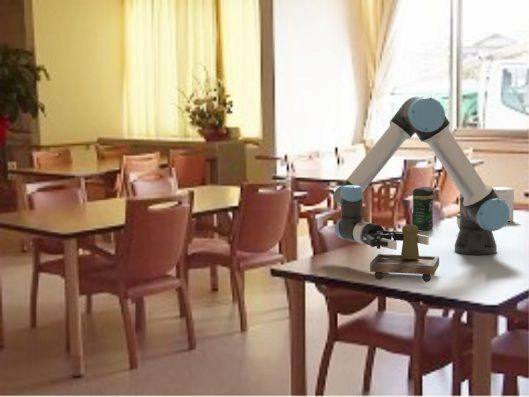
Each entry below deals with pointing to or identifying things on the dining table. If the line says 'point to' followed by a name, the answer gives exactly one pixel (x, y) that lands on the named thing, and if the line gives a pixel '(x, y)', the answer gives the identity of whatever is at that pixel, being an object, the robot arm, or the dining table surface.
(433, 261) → the cart
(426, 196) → the coffee jar
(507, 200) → the supplement box
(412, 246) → the cork
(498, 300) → the dining table surface
